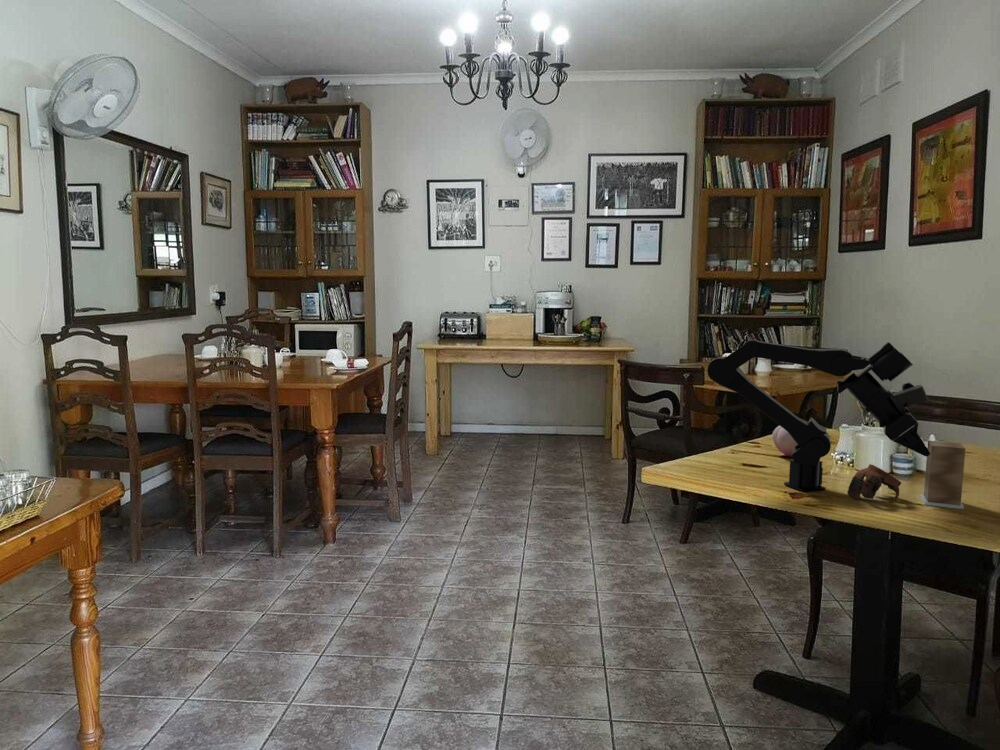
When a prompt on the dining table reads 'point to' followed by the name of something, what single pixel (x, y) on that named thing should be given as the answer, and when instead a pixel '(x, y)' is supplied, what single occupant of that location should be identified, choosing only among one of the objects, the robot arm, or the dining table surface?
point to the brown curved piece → (872, 482)
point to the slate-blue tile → (940, 503)
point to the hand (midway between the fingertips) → (925, 451)
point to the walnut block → (944, 472)
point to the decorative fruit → (783, 441)
